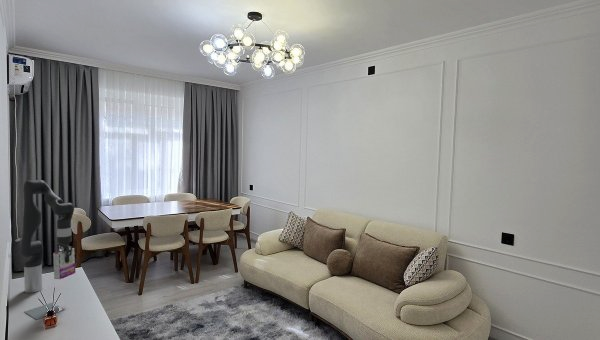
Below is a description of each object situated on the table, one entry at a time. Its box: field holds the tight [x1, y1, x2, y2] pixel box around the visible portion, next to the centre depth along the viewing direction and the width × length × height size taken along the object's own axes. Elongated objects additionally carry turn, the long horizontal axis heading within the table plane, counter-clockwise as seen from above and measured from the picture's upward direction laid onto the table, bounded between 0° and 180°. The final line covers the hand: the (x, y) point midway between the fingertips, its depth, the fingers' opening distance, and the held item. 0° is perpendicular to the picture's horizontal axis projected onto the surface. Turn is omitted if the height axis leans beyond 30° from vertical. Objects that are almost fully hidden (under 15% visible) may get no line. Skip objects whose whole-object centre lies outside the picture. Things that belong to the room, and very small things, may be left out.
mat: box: [24, 302, 65, 321], centre depth 194 cm, size 16×14×1 cm
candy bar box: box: [52, 247, 76, 280], centre depth 207 cm, size 11×5×16 cm, turn 169°
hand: (64, 260), depth 207 cm, fingers closed on candy bar box, 6 cm apart
